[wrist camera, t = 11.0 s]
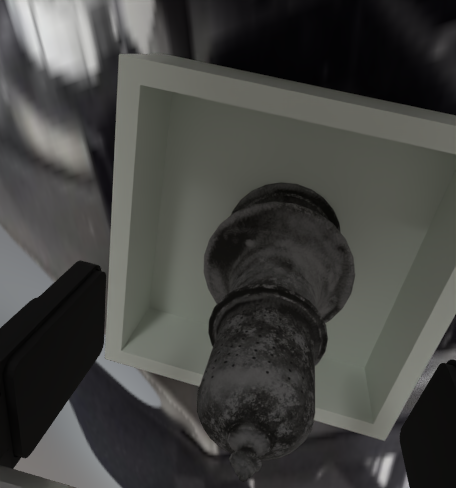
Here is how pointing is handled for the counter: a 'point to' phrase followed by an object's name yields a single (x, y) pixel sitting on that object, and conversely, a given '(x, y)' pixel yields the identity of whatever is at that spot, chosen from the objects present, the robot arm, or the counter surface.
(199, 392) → the salt shaker
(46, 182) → the counter surface
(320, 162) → the sage bin
